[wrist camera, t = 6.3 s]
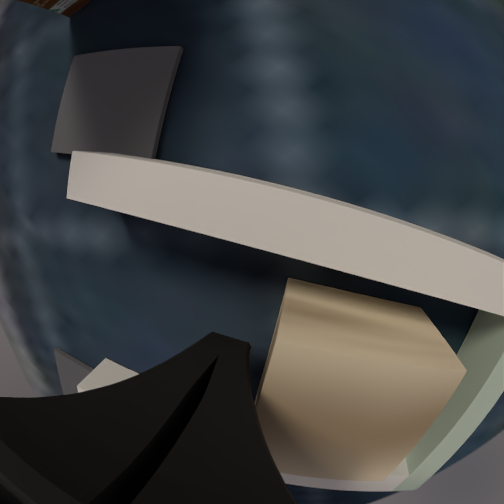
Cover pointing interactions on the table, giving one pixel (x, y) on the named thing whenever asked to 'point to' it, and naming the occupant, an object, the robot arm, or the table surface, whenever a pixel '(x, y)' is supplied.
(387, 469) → the birch block
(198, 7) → the table surface
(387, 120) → the table surface
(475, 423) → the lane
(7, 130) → the table surface
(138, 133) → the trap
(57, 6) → the food container
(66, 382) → the plate
